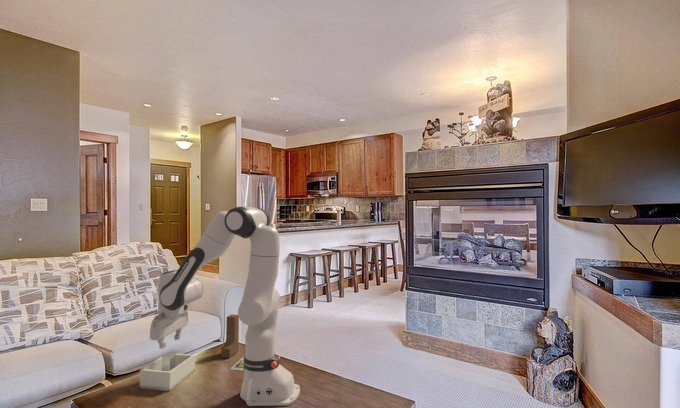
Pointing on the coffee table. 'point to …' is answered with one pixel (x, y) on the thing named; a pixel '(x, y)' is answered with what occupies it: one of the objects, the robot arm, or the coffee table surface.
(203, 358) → the coffee table surface
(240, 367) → the handheld gaming device
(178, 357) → the walled box
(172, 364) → the metal peg
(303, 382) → the coffee table surface
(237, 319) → the wooden block
